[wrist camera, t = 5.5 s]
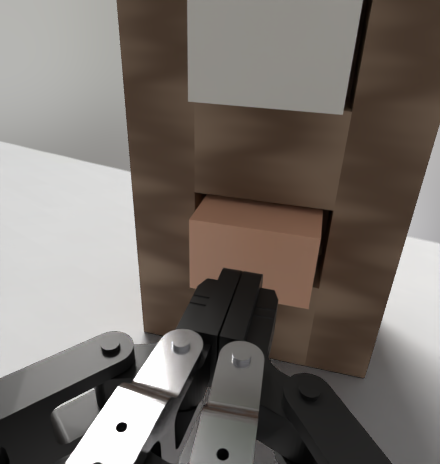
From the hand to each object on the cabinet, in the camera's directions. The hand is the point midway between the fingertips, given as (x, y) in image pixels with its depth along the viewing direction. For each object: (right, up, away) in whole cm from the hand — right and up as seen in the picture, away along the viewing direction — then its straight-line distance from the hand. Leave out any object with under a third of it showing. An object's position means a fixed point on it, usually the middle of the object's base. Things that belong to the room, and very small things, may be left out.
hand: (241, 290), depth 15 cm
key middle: (+1, +7, 0) cm, 7 cm away
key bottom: (+1, 0, +4) cm, 4 cm away
